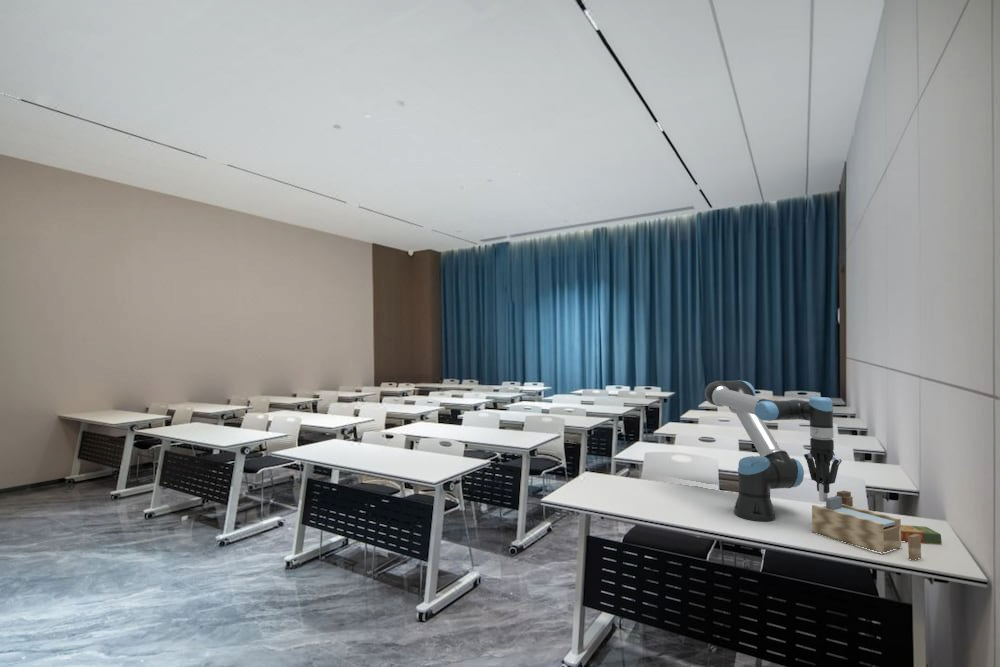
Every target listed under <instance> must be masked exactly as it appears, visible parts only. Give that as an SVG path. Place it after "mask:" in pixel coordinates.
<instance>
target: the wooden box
mask: <svg viewBox="0 0 1000 667" xmlns="http://www.w3.org/2000/svg"><path fill="white" fill-rule="evenodd" d="M823 507H824V506H819V505H815V504H813V505H811V520H812V521H811V522H812V523H811V524H812V526H811V527H812V528H811V529H812V530H811V531H812V533H813V532H814V533H813V534H816V533H817V534H816V535H819V534H820V536H822V535H823V537H825V536H826V538H828V537H829V539H831V538H832V540H834V539H835V541H838V540H839V541H838V542H841V541H843V542H842V543H844V542H846V543H845V544H847V543H850V544H853V545H857V546H860V547H864V548H867V549H870V550H874V551H877V552H881V553H883V552H887V551H890V550H893V549H898V548H900V547H901V548H902V542H901V525H902V524H901V523H902V522H901V518H899V517H898V518H897V517H894V516H890V515H887V514H882V513H878V512H874V511H871V510H868V509H863V508H860V507H859V508H858V507H856V506H853V507H852V506H848V505H844V504H842V507H843V508H847V509H850V510H854V511H858V512H862V513H866V514H869V515H873V516H877V517H881V518H884V519H888V520H892V521H895V525H891V526H888V527H884V528H883V524H882V523H878V522H875V521H871V520H867V519H864V518H860V517H856V516H853V515H849V514H845V513H842V512H838V511H834V510H831V509H827V508H823ZM850 544H849V545H850ZM853 545H852V546H853ZM907 546H908V560H909V559H911V560H910V561H912V560H915V559H917V560H919V559H918V558H920V559H922V548H921V547H922V543H921V535H919V534H914V535H910V536H908V543H907ZM898 550H899V549H898ZM915 561H916V560H915Z"/></svg>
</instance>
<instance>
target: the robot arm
mask: <svg viewBox="0 0 1000 667" xmlns="http://www.w3.org/2000/svg"><path fill="white" fill-rule="evenodd" d="M704 397H705V400H706V401H707V402H708V403H709V404H711V405H712V406H716V407H727V408H728V409H729V410H730V412H731V413H733V414H735V415H736V416H737V417H738V419H739V421H740V423H741V425H742V426H743V428H744V430H745V431H746V434H747V435H748V437H749V439H750V441H751V443H752V444H753V446H754V447H755V449H756V451H757V453H758V455H759V456H758V455H756V456H753V455H752V456H751V455H750V456H745V457H742V458H740V459H739V461H738V468H737V472H738V474H737V475H738V496H737V499H736V502H735V505H734V510H733V512H734V515H736V516H737V517H739V518H741V519H745V520H749V521H756V522H771V521H775V520H776V510H775V509H774V506H773V503H772V500H771V490H778V489H791V488H797V487H799V486H800V485H801V484H802V483H803V481H804V476H805V470H804V467H803V465H802V463H801V462H800V460H798V459H796V458H794V457H793V458H791V457H790V455H789V454H788V452H787V451H786V450H784V449H781V448H780V446H779V444H778V443H777V441H776V440H775V438H774V436H773V435H772V433H771V431H770V429H769V428H768V426H767V425H766V423H765V421H768V422H771V421H785V420H787V421H789V420H791V421H794V420H801V421H809V437H810V438H809V440H810V441H809V442H810V444H809V446H810V450H809V452H807V453H805V454H803V456H804V459H805V460H806V463H807V464H806V465H807V467H808V471H809V475H810V476H809V477H810V478H811V480H812V481H814V482H815V483H816V490H817V492H818V500H819V502H822V503H826V498H829V497H828V494H830V485H831V484H835V483H836V480H837V475H838V470H839V466H840V465H841V464H842V459H840V458H837V456H836V455H835V452H834V450H835V445H834V443H835V441H834V439H833V438H834V420H833V419H834V407H833V401H832V399H831V397H830V398H829V397H825V396H824V397H821V396H811V397H809V399H808V400H799V399H787V400H772V399H771V400H770V399H767V398H765V397H758V396H757V395H756V390H755V388H754V385H752V384H751V383H750V382H748V381H745V380H738V379H737V380H736V379H735V380H716V381H715V380H714V381H713V382H710V383H708V385H707V386H705V389H704ZM831 462H832V463H831ZM830 466H831V467H830Z"/></svg>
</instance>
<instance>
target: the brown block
mask: <svg viewBox="0 0 1000 667" xmlns="http://www.w3.org/2000/svg"><path fill="white" fill-rule="evenodd" d="M835 496H839V497H842V504H844V505H848V506H852V507H854V503H853V498H854V497H853V496H852V492H851V491H848V490H841V491H837V492H836V495H835Z"/></svg>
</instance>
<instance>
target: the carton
mask: <svg viewBox="0 0 1000 667" xmlns="http://www.w3.org/2000/svg"><path fill="white" fill-rule="evenodd" d="M914 534H919V535H921V545H922V544H923V545H937V546H938V545H940V546H942V543H943V542H942V535H941V533H940V532H937V531H936V530H933V529H932V528H930V527H927V526H921V525H909V524H907V525H906V524H901V541H905V542H904V543H907V542H908V536H910V535H914Z"/></svg>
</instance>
